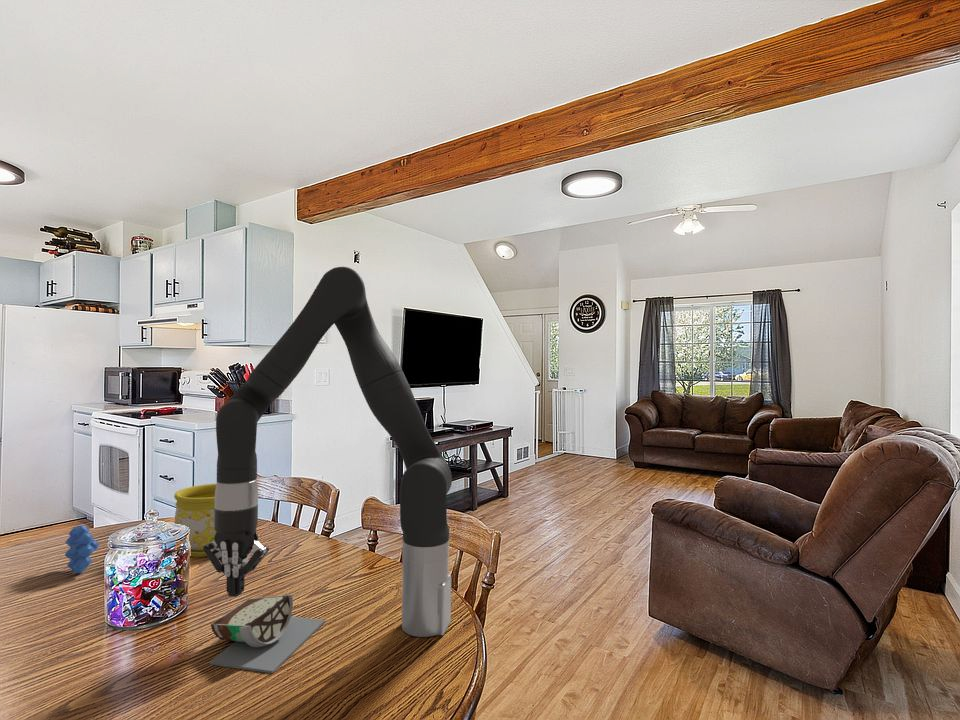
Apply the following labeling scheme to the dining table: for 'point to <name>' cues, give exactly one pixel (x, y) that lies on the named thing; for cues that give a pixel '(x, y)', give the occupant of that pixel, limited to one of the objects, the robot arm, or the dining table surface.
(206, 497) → the flowerpot
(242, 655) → the mat
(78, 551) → the grapes
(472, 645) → the dining table surface
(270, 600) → the food container
